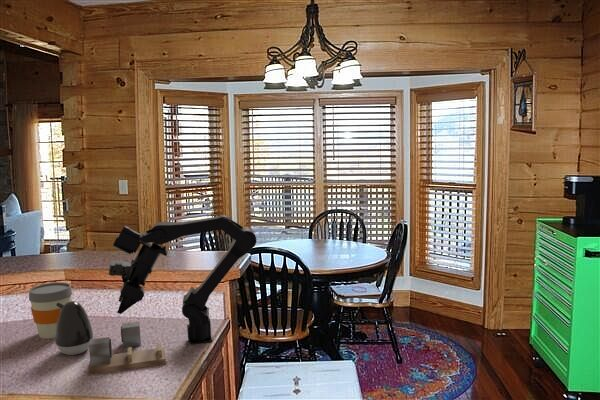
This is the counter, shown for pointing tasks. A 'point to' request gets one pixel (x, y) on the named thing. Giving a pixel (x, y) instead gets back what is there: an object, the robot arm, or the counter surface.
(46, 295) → the reusable coffee cup
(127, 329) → the block
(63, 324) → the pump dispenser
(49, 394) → the counter surface
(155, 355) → the rail
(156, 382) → the counter surface
